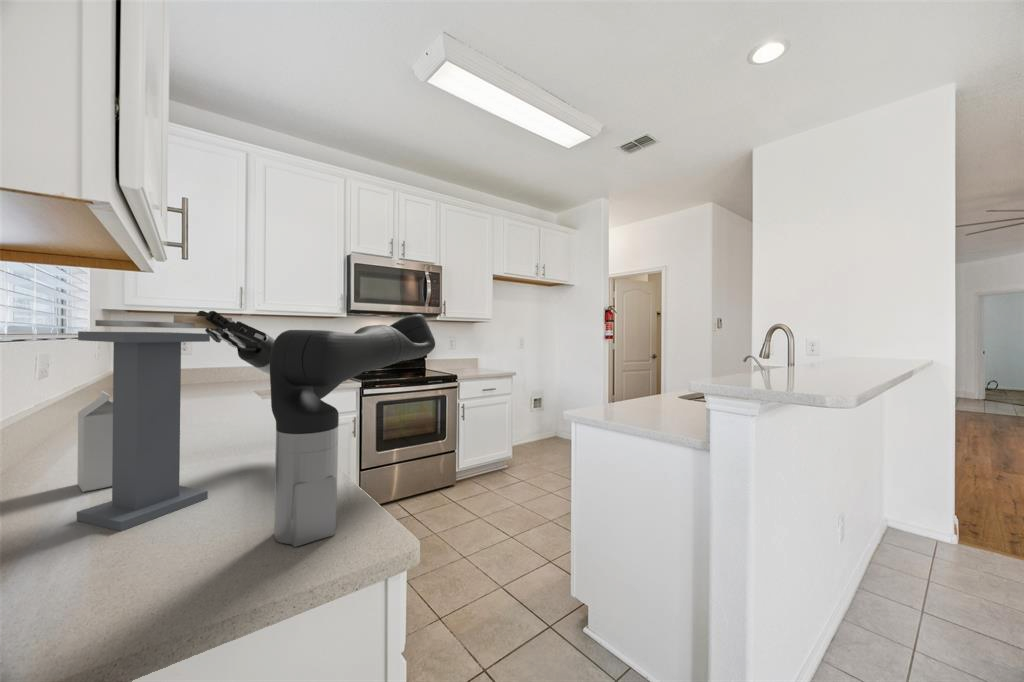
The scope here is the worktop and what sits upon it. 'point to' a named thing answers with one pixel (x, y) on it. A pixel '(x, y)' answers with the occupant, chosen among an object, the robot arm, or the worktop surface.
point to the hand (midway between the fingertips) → (204, 314)
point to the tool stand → (144, 429)
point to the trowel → (164, 323)
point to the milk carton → (95, 444)
